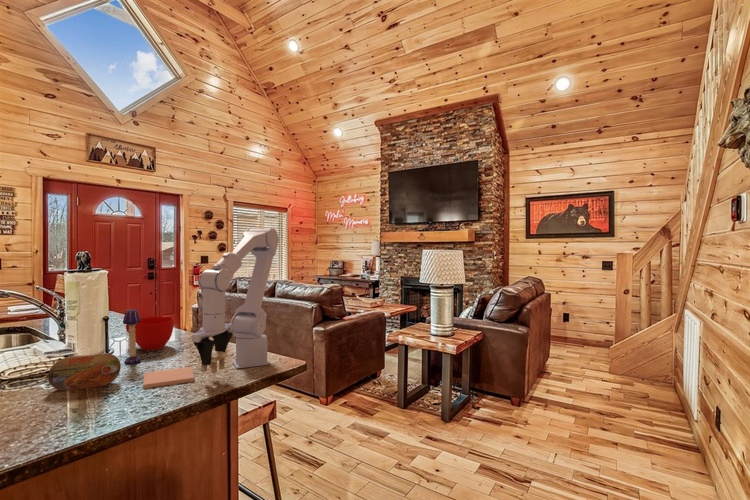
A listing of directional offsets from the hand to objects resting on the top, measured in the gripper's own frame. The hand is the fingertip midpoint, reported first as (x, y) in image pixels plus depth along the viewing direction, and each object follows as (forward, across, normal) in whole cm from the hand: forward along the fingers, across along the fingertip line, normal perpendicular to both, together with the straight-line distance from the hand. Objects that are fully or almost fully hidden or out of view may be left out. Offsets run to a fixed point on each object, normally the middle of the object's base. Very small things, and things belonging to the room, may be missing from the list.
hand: (213, 361), depth 104 cm
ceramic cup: (+6, -19, -43) cm, 47 cm away
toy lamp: (+6, -4, -34) cm, 34 cm away
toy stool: (+2, 0, 0) cm, 2 cm away
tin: (+6, +14, -28) cm, 32 cm away
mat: (+5, +3, -12) cm, 14 cm away
